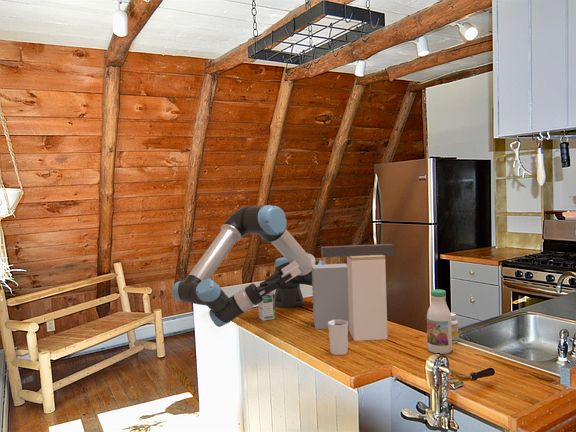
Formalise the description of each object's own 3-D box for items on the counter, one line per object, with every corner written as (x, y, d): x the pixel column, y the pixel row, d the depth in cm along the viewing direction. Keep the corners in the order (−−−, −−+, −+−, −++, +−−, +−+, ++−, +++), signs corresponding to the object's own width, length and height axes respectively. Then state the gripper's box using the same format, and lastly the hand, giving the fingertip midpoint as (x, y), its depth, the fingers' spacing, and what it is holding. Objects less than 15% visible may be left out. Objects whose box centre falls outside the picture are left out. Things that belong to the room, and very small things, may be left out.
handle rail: (321, 256, 168) (321, 246, 167) (391, 253, 168) (390, 243, 168) (322, 257, 164) (322, 247, 164) (393, 254, 165) (393, 244, 165)
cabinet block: (349, 331, 173) (346, 253, 172) (380, 330, 173) (378, 252, 172) (354, 340, 162) (351, 257, 161) (387, 339, 162) (385, 256, 161)
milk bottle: (434, 344, 155) (433, 287, 154) (456, 349, 149) (455, 289, 148) (423, 351, 149) (421, 291, 148) (445, 356, 144) (444, 294, 143)
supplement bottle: (458, 344, 154) (457, 316, 154) (441, 343, 156) (441, 315, 156) (458, 339, 159) (458, 312, 159) (442, 338, 161) (442, 311, 161)
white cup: (345, 347, 155) (344, 318, 155) (351, 354, 149) (350, 324, 148) (326, 349, 154) (325, 320, 154) (332, 356, 148) (330, 326, 147)
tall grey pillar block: (313, 322, 187) (311, 264, 186) (347, 321, 187) (345, 263, 186) (315, 329, 178) (313, 268, 177) (351, 327, 178) (349, 267, 177)
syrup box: (263, 321, 192) (261, 287, 191) (258, 317, 197) (257, 284, 197) (275, 319, 194) (274, 285, 193) (270, 316, 200) (269, 283, 199)
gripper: (256, 298, 178) (301, 269, 178) (253, 314, 154) (305, 281, 153) (246, 282, 178) (291, 253, 178) (241, 296, 153) (294, 262, 153)
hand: (298, 266), depth 166 cm, fingers open, 13 cm apart
